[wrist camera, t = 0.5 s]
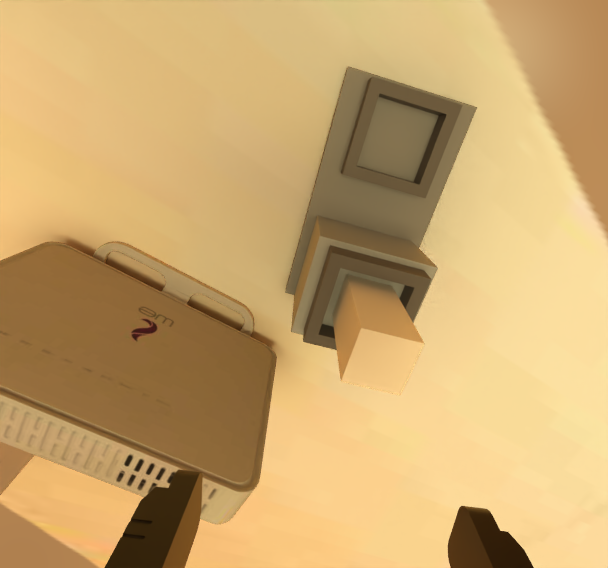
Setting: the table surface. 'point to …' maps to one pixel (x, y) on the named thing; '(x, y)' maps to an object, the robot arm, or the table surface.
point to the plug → (374, 336)
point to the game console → (11, 463)
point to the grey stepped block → (374, 197)
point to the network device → (130, 375)
